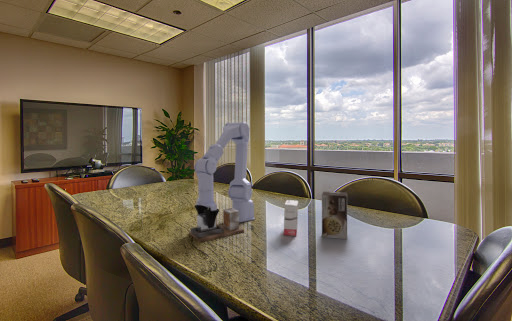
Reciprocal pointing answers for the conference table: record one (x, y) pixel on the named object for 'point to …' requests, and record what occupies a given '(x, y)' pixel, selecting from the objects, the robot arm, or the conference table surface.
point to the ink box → (291, 217)
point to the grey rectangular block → (204, 224)
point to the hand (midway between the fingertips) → (206, 225)
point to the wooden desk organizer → (221, 227)
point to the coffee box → (334, 215)
